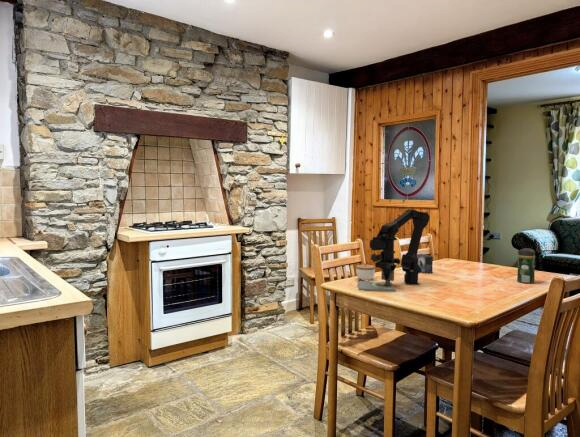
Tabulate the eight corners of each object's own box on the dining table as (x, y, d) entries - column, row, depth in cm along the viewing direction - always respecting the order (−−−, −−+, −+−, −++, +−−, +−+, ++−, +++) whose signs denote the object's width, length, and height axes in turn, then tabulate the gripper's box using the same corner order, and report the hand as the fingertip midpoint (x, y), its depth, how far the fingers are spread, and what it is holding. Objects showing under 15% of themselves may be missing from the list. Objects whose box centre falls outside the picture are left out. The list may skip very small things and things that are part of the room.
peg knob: (394, 284, 214) (394, 270, 213) (391, 286, 211) (391, 271, 210) (371, 281, 222) (371, 268, 221) (367, 283, 218) (368, 269, 218)
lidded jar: (353, 280, 231) (353, 263, 230) (359, 277, 240) (359, 261, 240) (371, 282, 226) (372, 265, 225) (377, 279, 235) (377, 262, 235)
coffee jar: (519, 279, 234) (520, 246, 233) (535, 281, 229) (536, 248, 228) (515, 282, 227) (516, 248, 226) (531, 284, 222) (532, 249, 220)
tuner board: (391, 283, 223) (391, 281, 223) (396, 291, 205) (396, 289, 205) (357, 282, 225) (357, 280, 225) (359, 290, 207) (359, 288, 207)
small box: (412, 271, 260) (412, 254, 260) (420, 270, 263) (421, 253, 262) (424, 273, 251) (425, 256, 250) (432, 273, 254) (433, 256, 253)
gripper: (380, 246, 225) (380, 274, 226) (365, 249, 210) (365, 280, 211) (400, 247, 219) (400, 277, 220) (386, 251, 204) (386, 283, 205)
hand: (387, 279), depth 214 cm, fingers open, 3 cm apart
